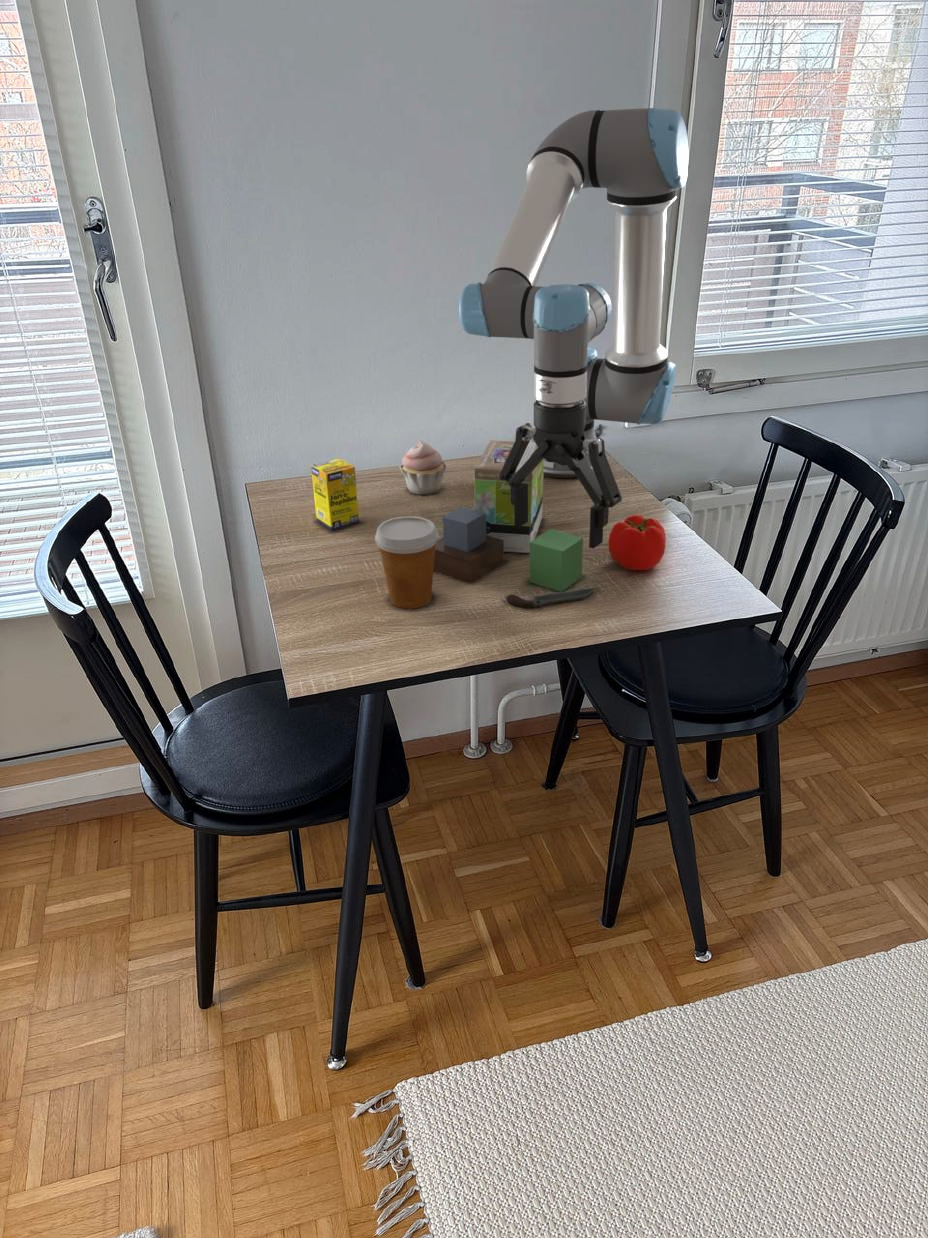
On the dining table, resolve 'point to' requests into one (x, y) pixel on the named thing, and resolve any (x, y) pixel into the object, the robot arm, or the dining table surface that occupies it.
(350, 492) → the supplement box
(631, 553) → the tomato
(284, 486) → the dining table surface
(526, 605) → the knife
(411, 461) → the cupcake
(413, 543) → the disposable coffee cup
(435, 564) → the walnut plinth
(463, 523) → the slate block
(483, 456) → the tea box
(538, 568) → the green block
